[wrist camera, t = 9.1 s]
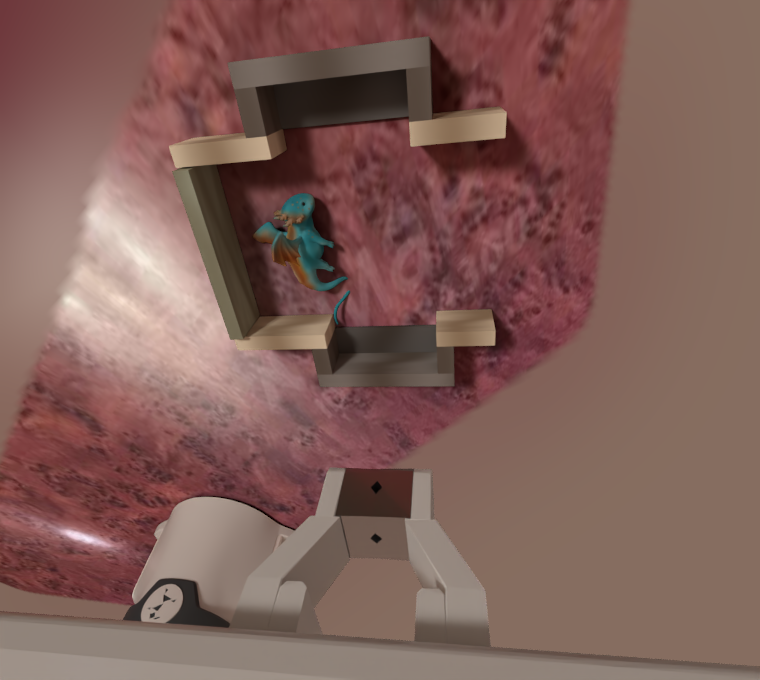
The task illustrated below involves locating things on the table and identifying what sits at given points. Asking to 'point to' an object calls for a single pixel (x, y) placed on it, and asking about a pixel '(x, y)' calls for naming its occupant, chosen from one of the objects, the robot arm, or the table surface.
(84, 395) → the table surface
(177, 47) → the table surface
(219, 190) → the channel
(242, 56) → the table surface
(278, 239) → the dragon figurine
